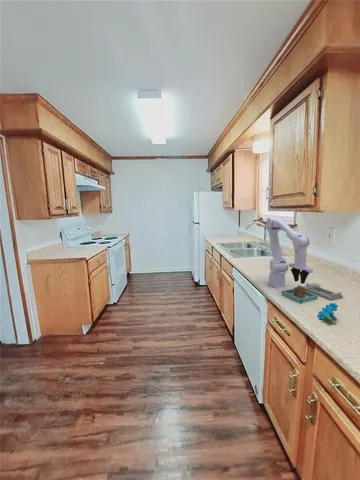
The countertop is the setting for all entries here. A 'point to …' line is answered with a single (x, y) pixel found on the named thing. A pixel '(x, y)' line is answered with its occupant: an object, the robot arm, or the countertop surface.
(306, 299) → the tray
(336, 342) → the countertop surface
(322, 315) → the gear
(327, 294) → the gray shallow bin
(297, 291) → the stop block
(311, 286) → the light grey block
